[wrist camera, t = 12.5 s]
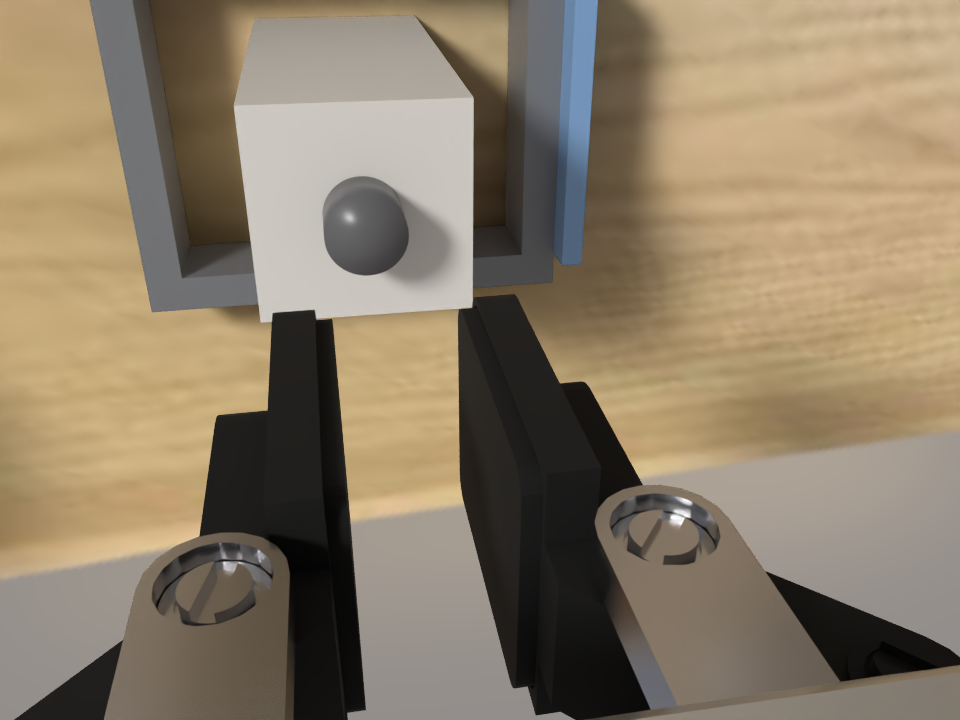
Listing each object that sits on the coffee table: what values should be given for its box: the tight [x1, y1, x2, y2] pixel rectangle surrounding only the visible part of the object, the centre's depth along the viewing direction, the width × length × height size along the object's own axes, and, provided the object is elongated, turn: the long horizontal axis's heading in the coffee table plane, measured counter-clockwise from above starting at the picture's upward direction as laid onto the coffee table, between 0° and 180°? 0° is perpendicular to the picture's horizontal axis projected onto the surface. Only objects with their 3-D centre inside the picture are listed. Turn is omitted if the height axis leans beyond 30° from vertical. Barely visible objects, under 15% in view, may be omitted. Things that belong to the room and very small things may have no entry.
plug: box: [234, 15, 474, 323], centre depth 22 cm, size 4×4×11 cm
